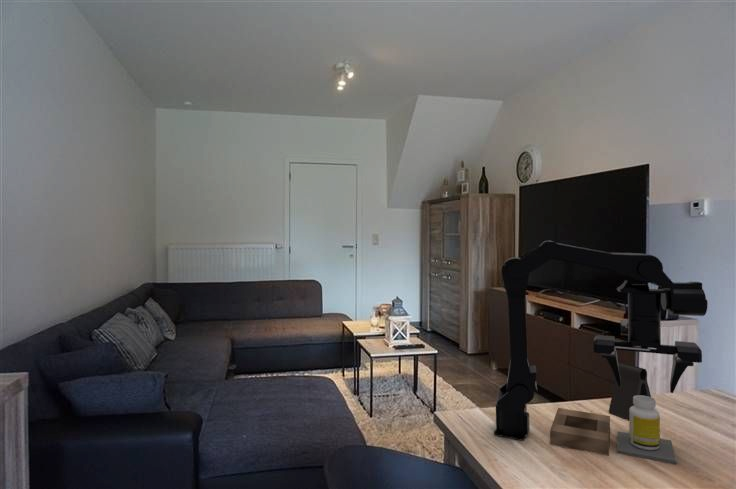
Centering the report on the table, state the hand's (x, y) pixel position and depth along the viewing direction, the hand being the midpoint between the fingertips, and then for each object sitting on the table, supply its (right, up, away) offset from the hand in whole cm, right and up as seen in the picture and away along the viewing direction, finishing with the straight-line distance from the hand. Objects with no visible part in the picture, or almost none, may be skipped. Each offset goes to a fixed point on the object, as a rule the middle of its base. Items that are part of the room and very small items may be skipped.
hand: (644, 389), depth 93 cm
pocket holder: (-10, -12, +6) cm, 17 cm away
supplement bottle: (0, -12, 0) cm, 12 cm away
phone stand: (+8, -12, +18) cm, 23 cm away
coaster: (0, -12, 0) cm, 12 cm away
